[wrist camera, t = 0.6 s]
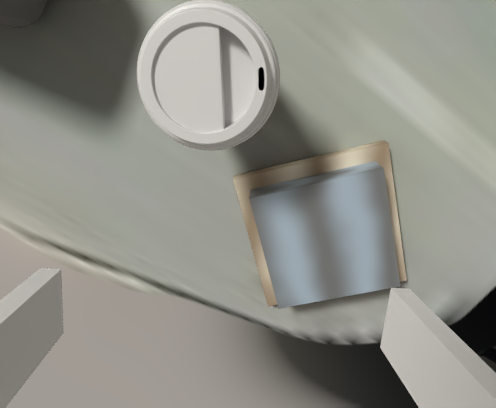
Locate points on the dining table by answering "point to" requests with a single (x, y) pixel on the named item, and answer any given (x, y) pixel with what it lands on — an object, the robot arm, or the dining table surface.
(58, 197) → the dining table surface
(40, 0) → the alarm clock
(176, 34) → the coffee cup
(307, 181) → the pedestal
